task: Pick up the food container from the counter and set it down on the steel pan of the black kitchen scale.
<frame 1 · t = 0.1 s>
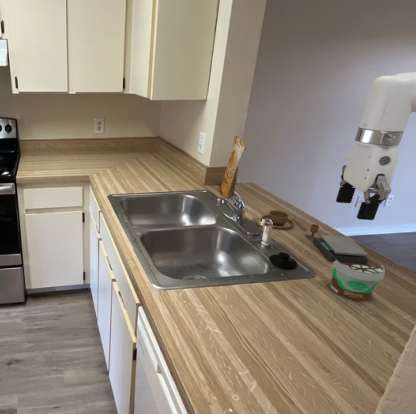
hand: (353, 210, 78), 29 cm above the worktop, tool pointing down, fingers open, 9 cm apart
place setting: (281, 229, 132), on the worktop
pancake mix bag: (227, 193, 169), on the worktop
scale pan: (342, 245, 113), point 4 cm above the worktop, slide at 0.0 cm
scale: (337, 254, 114), on the worktop
food container: (352, 298, 93), on the worktop
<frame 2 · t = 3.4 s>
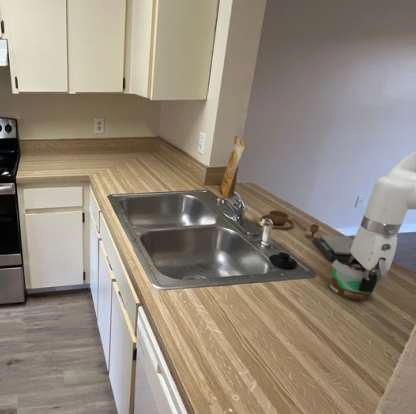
hand: (358, 282, 91), 5 cm above the worktop, tool pointing down, fingers closed on food container, 6 cm apart
food container: (352, 298, 93), on the worktop, touching gripper
everything else where it was.
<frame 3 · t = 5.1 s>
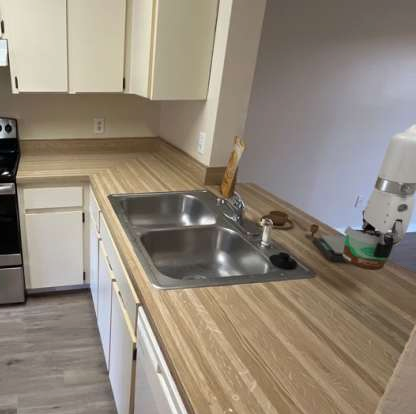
hand: (372, 249, 87), 16 cm above the worktop, tool pointing down, fingers closed on food container, 6 cm apart
food container: (366, 266, 89), point 10 cm above the worktop, touching gripper
everything else where it was.
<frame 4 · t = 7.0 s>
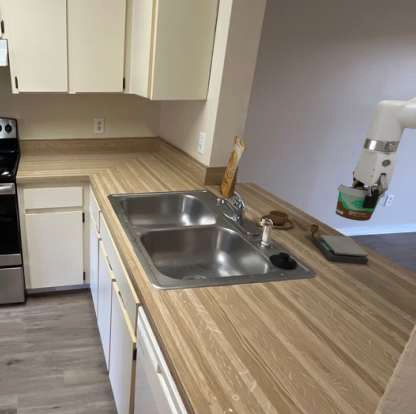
hand: (361, 203, 101), 21 cm above the worktop, tool pointing down, fingers closed on food container, 6 cm apart
food container: (356, 218, 103), point 16 cm above the worktop, touching gripper
everything else where it was.
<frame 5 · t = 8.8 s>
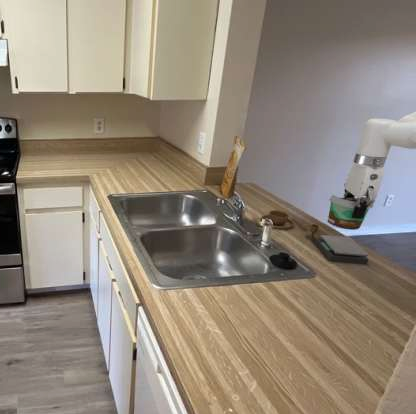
hand: (351, 213, 108), 16 cm above the worktop, tool pointing down, fingers closed on food container, 6 cm apart
food container: (346, 227, 110), point 10 cm above the worktop, touching gripper
everything else where it was.
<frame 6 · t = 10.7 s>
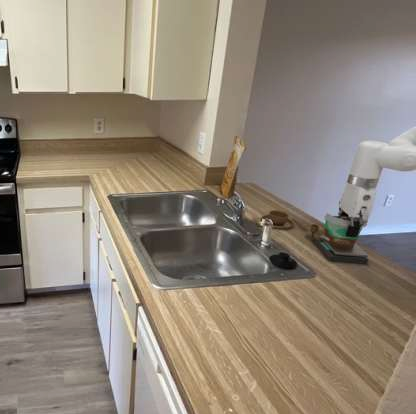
hand: (345, 231, 111), 9 cm above the worktop, tool pointing down, fingers closed on food container, 6 cm apart
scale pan: (342, 245, 113), point 3 cm above the worktop, slide at -0.2 cm, touching food container
food container: (341, 245, 113), point 4 cm above the worktop, touching gripper, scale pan
everything else where it was.
when the fingers open (9 cm above the worktop, at t = 10.8 s): food container stays where it is, resting on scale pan.
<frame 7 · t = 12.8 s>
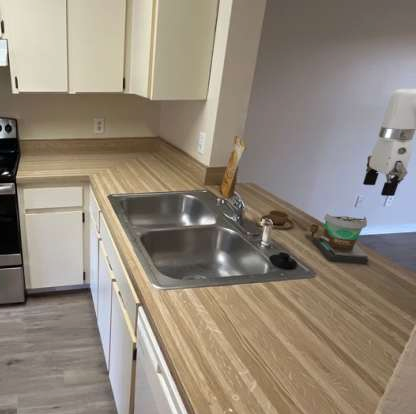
hand: (377, 189, 102), 25 cm above the worktop, tool pointing down, fingers open, 9 cm apart
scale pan: (342, 246, 113), point 3 cm above the worktop, slide at -0.4 cm, touching food container, scale
food container: (340, 245, 113), point 3 cm above the worktop, touching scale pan
everything else where it was.
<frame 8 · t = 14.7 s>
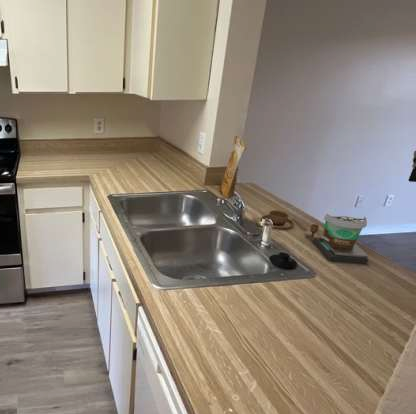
nothing on the worktop moved.
at the end: food container inside the target area on the scale (0.0 cm from its centre), point 3.4 cm above the scale's base; food container tilted 0°; food container touching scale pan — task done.
